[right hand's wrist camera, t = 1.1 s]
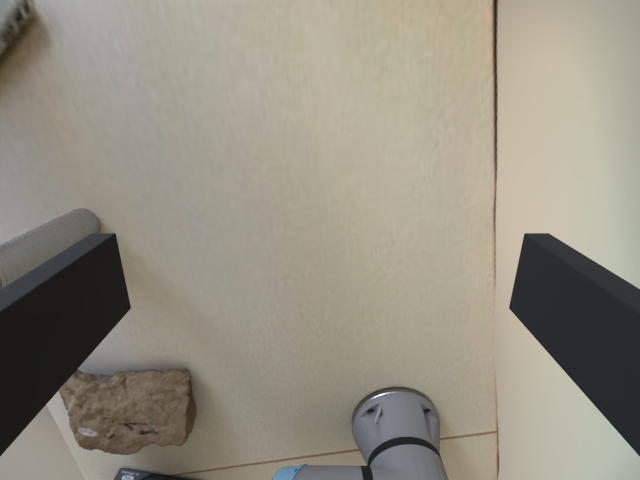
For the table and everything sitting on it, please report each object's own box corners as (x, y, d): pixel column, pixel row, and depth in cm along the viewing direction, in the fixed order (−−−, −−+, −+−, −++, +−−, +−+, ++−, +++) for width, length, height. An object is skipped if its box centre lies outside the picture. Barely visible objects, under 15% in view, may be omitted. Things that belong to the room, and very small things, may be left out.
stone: (71, 443, 66) (53, 469, 60) (64, 362, 64) (45, 380, 58) (197, 432, 69) (192, 455, 63) (195, 355, 67) (190, 371, 61)
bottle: (74, 202, 54) (-87, 274, 32) (104, 218, 55) (-34, 298, 33) (64, 227, 55) (-98, 312, 34) (93, 242, 56) (-46, 335, 35)
